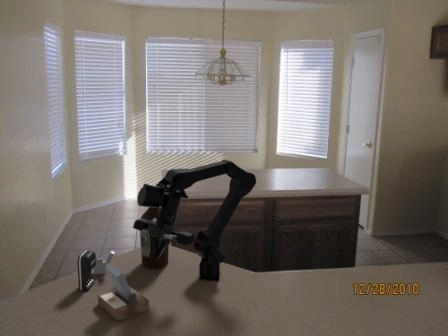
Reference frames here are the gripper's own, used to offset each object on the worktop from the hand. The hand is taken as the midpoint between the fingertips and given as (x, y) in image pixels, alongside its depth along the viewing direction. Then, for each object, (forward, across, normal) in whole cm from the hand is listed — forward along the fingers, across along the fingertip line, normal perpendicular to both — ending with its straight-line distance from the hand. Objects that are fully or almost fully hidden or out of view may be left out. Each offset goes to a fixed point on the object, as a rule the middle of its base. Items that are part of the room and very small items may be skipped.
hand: (157, 257), depth 142 cm
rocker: (+11, -3, -11) cm, 15 cm away
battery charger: (+15, -19, -3) cm, 25 cm away
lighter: (+14, -20, +7) cm, 25 cm away
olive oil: (+9, -7, +19) cm, 23 cm away
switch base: (+14, -2, -10) cm, 17 cm away
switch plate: (+12, -5, -14) cm, 19 cm away
